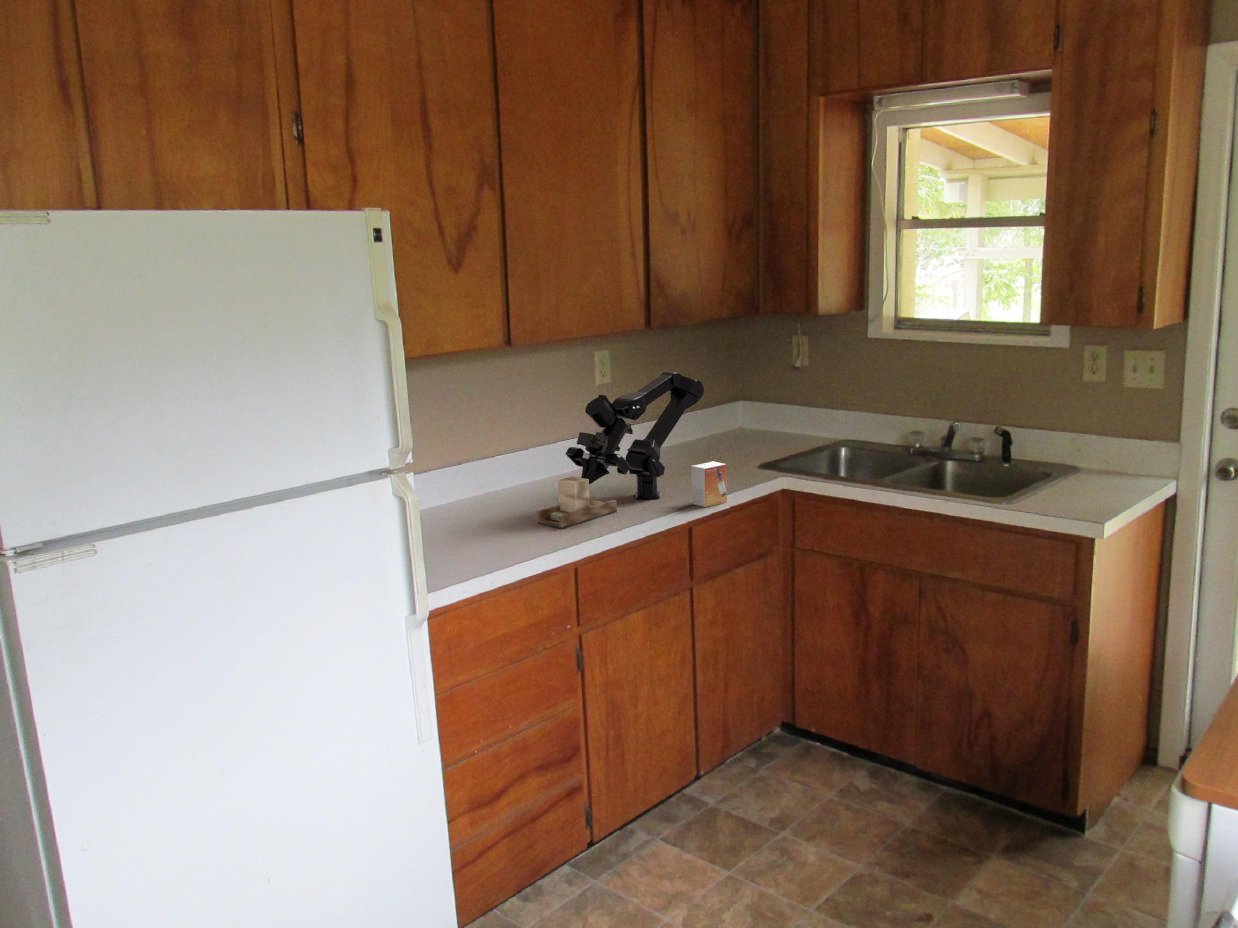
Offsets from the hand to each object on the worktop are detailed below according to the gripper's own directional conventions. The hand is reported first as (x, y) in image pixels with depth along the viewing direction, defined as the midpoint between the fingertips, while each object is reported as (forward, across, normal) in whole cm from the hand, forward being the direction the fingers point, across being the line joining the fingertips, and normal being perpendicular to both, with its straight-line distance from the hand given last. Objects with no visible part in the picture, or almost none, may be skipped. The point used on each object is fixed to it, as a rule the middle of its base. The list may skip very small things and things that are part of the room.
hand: (581, 487), depth 266 cm
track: (+7, 0, +4) cm, 8 cm away
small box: (-15, +18, +26) cm, 35 cm away
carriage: (+6, 0, +2) cm, 6 cm away
